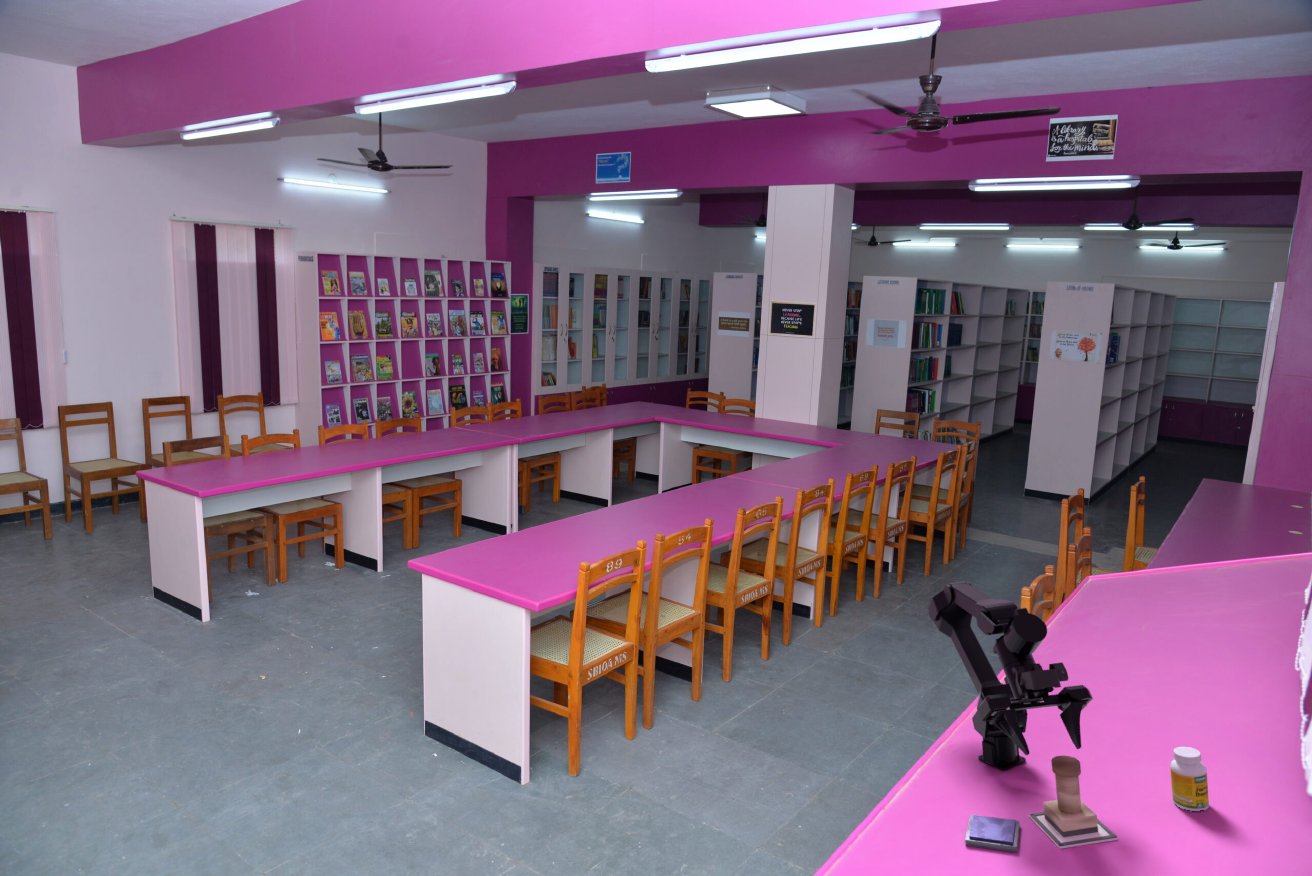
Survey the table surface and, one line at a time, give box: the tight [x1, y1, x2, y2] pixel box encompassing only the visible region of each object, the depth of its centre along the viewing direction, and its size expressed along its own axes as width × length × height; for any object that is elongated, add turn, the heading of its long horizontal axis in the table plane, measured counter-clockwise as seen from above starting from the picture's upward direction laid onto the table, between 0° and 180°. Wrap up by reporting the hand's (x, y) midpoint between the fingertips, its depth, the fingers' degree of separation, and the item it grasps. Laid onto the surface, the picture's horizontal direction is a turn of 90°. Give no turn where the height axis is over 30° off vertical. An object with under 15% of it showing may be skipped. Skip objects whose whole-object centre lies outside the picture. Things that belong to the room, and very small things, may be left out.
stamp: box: [1043, 755, 1098, 837], centre depth 142 cm, size 6×6×11 cm
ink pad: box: [964, 814, 1021, 854], centre depth 142 cm, size 8×8×1 cm
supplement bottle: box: [1169, 746, 1210, 812], centre depth 144 cm, size 5×5×10 cm
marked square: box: [1028, 811, 1119, 850], centre depth 142 cm, size 10×10×1 cm
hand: (1053, 751), depth 144 cm, fingers open, 9 cm apart
